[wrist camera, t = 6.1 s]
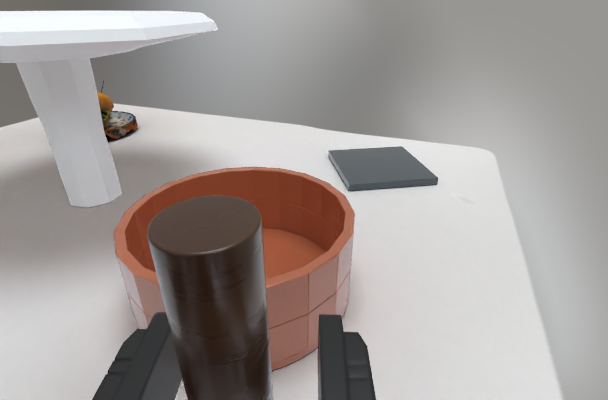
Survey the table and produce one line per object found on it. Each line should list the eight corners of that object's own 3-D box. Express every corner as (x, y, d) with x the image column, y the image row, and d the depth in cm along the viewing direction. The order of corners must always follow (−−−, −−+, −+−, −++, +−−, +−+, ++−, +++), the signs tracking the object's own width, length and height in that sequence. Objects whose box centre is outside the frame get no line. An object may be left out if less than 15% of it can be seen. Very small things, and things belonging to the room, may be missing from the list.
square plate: (401, 152, 48) (402, 146, 48) (437, 184, 40) (438, 178, 39) (328, 156, 47) (328, 150, 46) (348, 191, 38) (349, 184, 38)
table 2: (16, 155, 47) (-43, 10, 39) (233, 142, 51) (220, 10, 43) (-213, 315, 23) (-491, 21, 15) (235, 266, 27) (207, 18, 19)
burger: (70, 123, 59) (55, 75, 56) (145, 119, 61) (135, 73, 58) (35, 148, 49) (14, 92, 45) (127, 143, 51) (113, 89, 47)
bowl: (324, 223, 32) (326, 161, 30) (377, 358, 20) (389, 274, 17) (160, 237, 30) (145, 173, 28) (107, 396, 18) (70, 309, 15)
